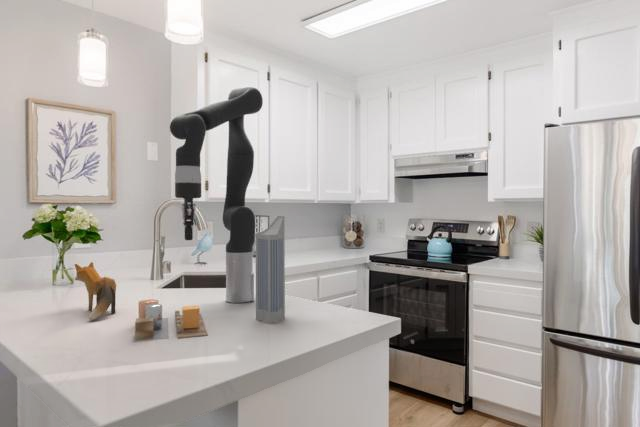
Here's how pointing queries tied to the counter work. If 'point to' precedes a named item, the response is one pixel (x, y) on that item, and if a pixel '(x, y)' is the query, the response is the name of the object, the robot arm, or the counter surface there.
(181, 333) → the rail
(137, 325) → the oak block
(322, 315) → the counter surface
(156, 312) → the metal canister
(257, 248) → the building model
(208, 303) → the counter surface
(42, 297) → the counter surface
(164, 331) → the slate tray
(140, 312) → the salmon domed cylinder
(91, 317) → the toy
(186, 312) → the orange block
